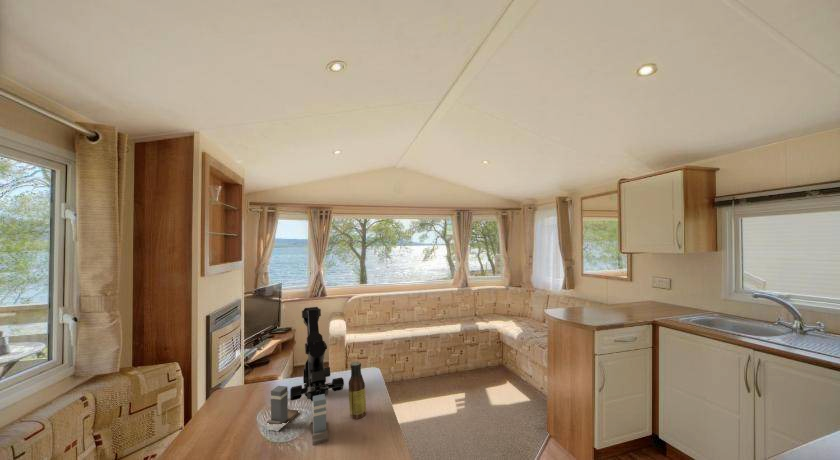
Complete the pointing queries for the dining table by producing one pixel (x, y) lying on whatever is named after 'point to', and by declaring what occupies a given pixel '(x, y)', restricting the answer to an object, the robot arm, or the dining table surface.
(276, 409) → the one stripe post
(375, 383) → the dining table surface
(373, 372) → the dining table surface
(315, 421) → the two stripe post
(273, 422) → the rail
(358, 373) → the sauce bottle
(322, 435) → the rail
